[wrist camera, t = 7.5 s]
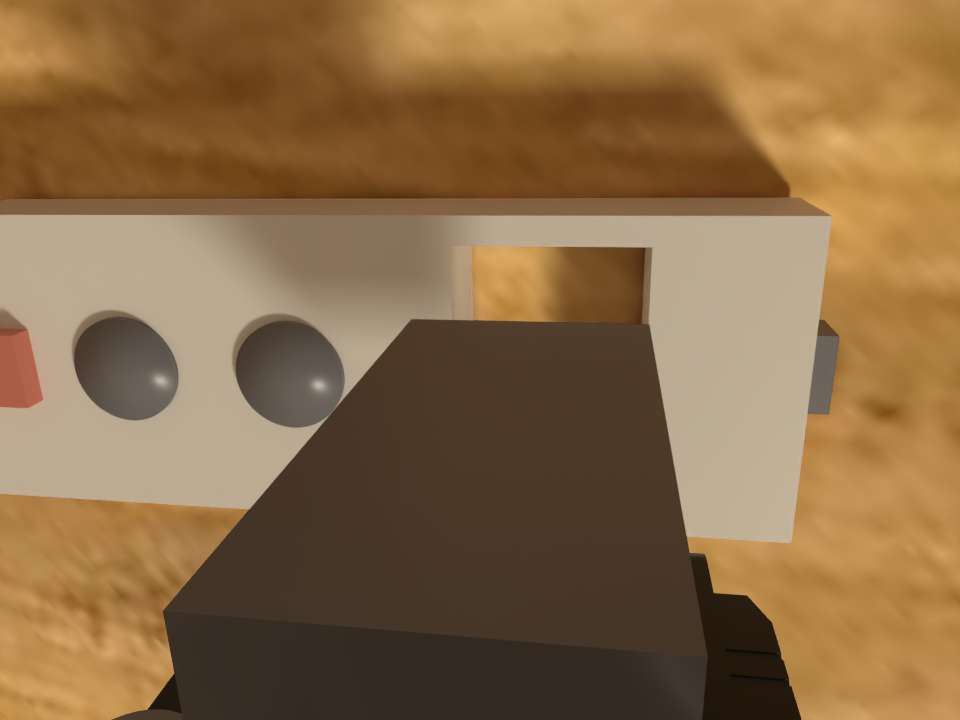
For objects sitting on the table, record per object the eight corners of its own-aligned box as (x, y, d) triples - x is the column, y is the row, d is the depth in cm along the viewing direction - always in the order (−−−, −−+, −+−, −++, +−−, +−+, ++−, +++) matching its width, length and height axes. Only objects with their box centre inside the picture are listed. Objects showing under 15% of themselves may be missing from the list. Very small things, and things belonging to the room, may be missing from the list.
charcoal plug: (649, 324, 13) (708, 658, 5) (633, 629, 15) (660, 1186, 7) (411, 318, 13) (162, 610, 6) (426, 611, 15) (255, 1109, 8)
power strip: (833, 197, 19) (881, 220, 16) (797, 486, 22) (831, 558, 18) (6, 199, 23) (-98, 218, 19) (60, 448, 25) (-24, 503, 22)
